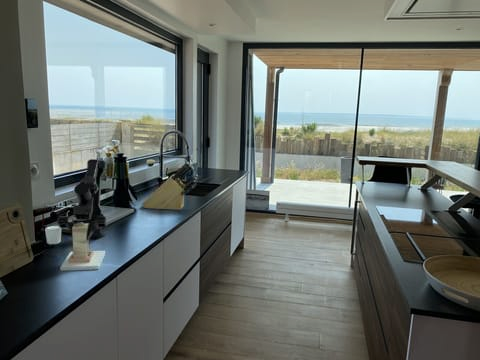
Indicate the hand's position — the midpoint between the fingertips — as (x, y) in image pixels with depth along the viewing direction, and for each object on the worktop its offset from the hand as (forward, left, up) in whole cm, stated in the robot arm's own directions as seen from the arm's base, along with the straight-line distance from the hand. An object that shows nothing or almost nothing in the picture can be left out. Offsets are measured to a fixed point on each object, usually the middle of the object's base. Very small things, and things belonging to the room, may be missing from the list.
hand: (80, 240), depth 148 cm
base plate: (-1, -1, -10) cm, 10 cm away
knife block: (-94, -12, -10) cm, 95 cm away
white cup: (-14, -28, -10) cm, 33 cm away
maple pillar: (-1, -1, -7) cm, 7 cm away
